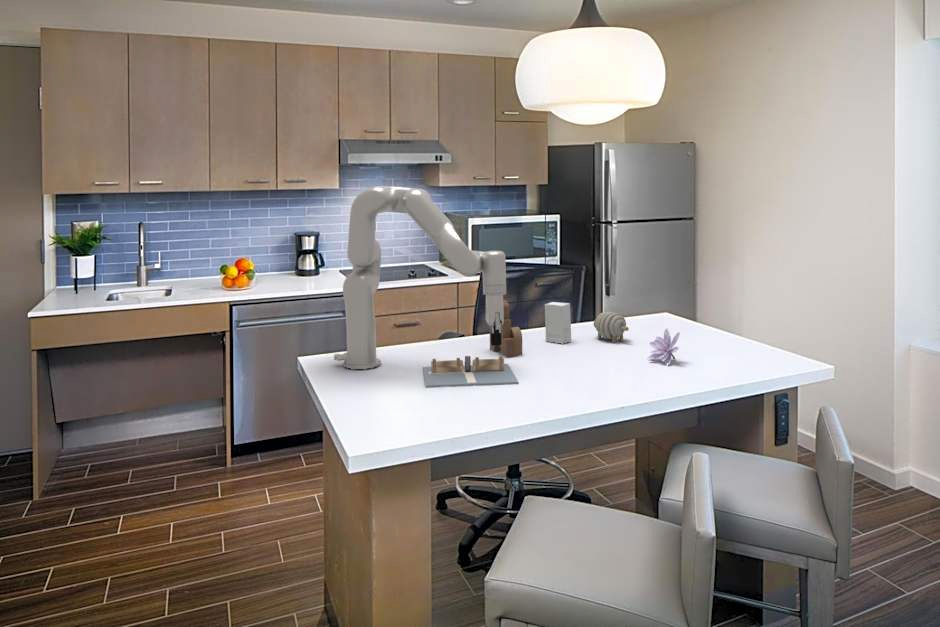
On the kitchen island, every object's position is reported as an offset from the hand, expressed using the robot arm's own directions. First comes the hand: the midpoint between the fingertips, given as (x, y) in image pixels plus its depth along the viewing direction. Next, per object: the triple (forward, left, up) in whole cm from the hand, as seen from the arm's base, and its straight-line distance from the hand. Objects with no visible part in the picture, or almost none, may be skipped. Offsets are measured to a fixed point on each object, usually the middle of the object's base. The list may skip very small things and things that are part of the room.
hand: (496, 344), depth 235 cm
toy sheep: (+48, +32, -8) cm, 58 cm away
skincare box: (+28, +33, -8) cm, 44 cm away
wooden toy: (+6, +20, -8) cm, 22 cm away
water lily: (+56, -1, -8) cm, 57 cm away
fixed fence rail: (-17, -7, -7) cm, 19 cm away
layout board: (-10, -10, -7) cm, 16 cm away
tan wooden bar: (-3, -7, -7) cm, 10 cm away
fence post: (-10, -7, -7) cm, 14 cm away
